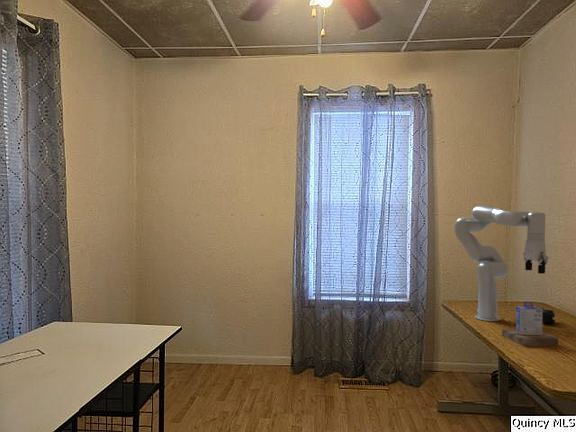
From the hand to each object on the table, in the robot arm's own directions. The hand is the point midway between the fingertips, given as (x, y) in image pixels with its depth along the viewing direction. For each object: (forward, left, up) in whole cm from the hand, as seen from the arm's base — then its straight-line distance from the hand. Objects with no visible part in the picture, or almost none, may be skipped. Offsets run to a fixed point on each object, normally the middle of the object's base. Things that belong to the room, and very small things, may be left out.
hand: (534, 271), depth 207 cm
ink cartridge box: (+13, -12, -27) cm, 32 cm away
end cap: (-16, +18, -30) cm, 39 cm away
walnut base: (+13, -12, -30) cm, 35 cm away
